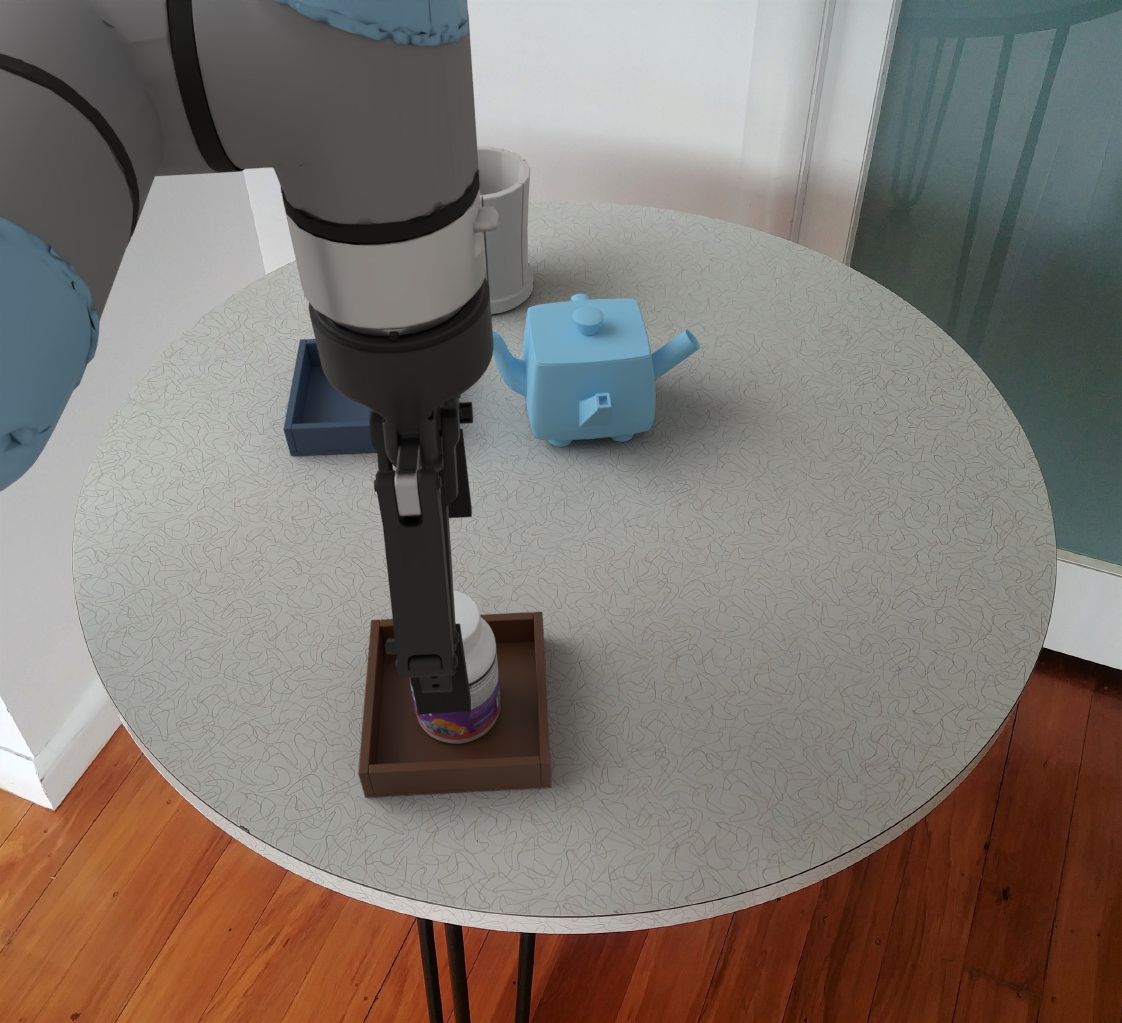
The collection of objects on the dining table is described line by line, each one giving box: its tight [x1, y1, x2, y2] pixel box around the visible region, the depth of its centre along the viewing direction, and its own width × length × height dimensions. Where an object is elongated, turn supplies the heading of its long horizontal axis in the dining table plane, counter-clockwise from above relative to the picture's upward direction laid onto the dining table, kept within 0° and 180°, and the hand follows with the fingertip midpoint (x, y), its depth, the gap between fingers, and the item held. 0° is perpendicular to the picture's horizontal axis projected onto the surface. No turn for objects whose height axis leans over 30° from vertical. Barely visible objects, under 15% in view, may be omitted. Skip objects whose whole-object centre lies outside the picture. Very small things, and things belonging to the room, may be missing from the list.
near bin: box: [357, 611, 552, 799], centre depth 66 cm, size 11×11×3 cm
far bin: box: [283, 338, 377, 457], centre depth 87 cm, size 11×11×3 cm
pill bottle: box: [409, 589, 500, 744], centre depth 64 cm, size 5×5×10 cm
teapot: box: [492, 293, 701, 448], centre depth 83 cm, size 18×14×10 cm
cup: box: [477, 145, 534, 316], centre depth 94 cm, size 10×9×12 cm
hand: (447, 603), depth 59 cm, fingers open, 13 cm apart
